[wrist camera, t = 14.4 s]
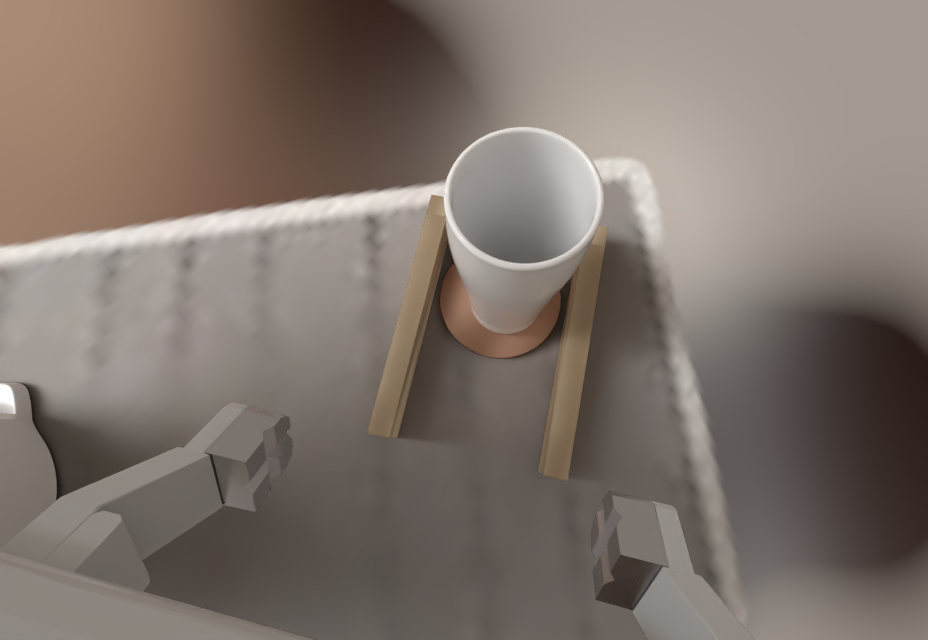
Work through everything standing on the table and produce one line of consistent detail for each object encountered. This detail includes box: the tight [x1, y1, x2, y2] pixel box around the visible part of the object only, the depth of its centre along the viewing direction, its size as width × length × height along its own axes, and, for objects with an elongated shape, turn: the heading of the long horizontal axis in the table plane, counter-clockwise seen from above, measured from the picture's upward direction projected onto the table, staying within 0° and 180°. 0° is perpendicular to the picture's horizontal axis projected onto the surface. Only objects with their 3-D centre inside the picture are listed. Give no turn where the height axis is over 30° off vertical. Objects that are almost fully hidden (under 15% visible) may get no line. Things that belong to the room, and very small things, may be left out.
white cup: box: [444, 127, 605, 334], centre depth 25 cm, size 7×7×15 cm
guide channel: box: [367, 195, 608, 481], centre depth 31 cm, size 13×18×3 cm
